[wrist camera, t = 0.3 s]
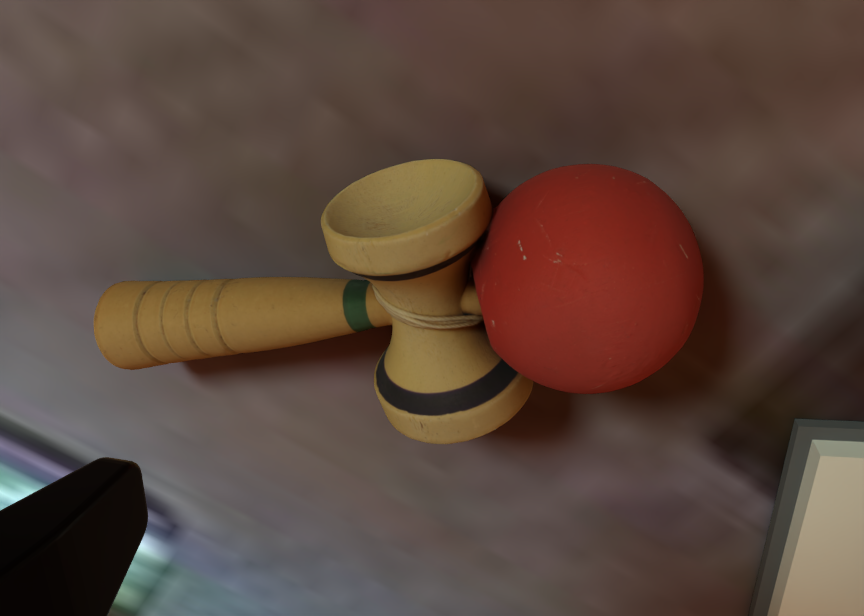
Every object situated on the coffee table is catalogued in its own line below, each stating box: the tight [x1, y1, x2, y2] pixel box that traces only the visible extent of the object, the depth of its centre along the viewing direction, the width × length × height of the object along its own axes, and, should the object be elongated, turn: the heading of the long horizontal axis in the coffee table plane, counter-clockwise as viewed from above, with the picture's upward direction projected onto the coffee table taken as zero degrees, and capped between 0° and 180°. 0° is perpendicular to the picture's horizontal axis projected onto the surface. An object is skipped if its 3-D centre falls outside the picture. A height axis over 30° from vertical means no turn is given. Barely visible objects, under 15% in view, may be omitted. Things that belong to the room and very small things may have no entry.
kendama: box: [94, 159, 704, 444], centre depth 21 cm, size 8×6×18 cm
